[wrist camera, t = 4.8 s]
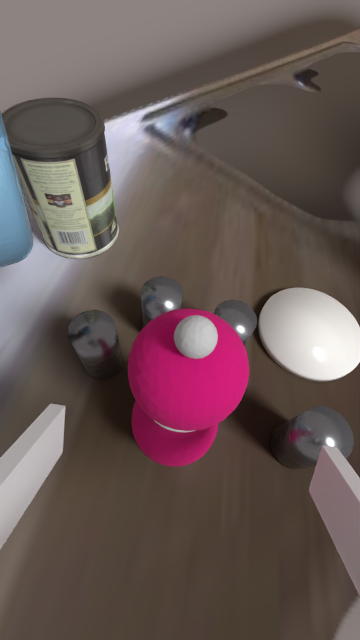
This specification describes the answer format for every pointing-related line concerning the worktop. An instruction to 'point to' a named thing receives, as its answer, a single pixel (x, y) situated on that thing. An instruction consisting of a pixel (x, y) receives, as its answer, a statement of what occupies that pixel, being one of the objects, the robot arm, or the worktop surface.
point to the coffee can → (64, 173)
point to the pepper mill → (184, 383)
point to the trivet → (310, 334)
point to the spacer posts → (166, 295)
